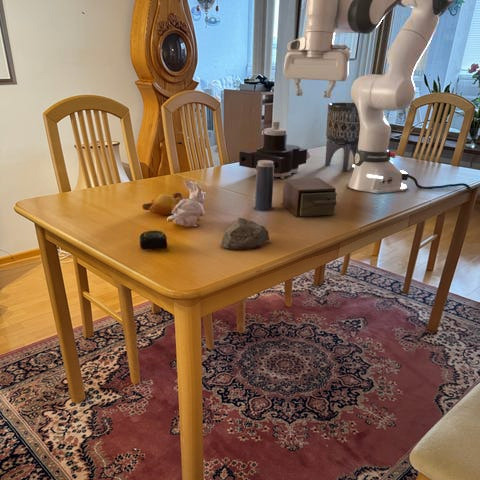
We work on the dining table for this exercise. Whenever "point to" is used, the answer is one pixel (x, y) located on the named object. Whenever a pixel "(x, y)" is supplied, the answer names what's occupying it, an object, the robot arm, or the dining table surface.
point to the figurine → (189, 206)
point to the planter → (342, 131)
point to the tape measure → (153, 240)
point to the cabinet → (297, 186)
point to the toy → (163, 204)
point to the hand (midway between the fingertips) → (312, 96)
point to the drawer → (317, 203)
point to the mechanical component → (276, 153)
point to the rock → (244, 235)
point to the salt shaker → (264, 185)
